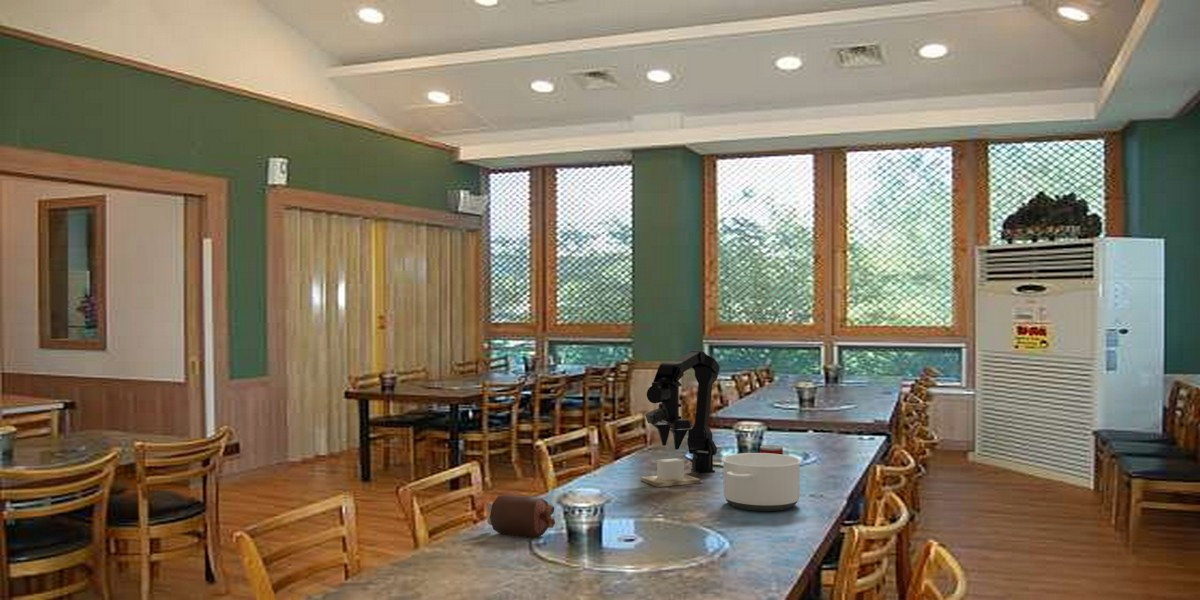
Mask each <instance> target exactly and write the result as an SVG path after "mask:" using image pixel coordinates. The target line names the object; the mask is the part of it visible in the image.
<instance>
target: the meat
mask: <svg viewBox="0 0 1200 600" xmlns="http://www.w3.org/2000/svg"><path fill="white" fill-rule="evenodd" d="M486 509H487V512H488V513H489V515H488V517H487V521H486V522H487V523H488V525H490V526H492V527H491V528H492V530H494V531H495V532H496V533H497V534H501V535H506V536H518V537H521V538H529V539H530V538H534V539H535V538H536V537H538V538H539V536H540V537H542V536H543V535H544V533H545V532H547V530H548V528H549V529H553V528H554V526H555V524H556V520H555V517H553V516H552V515H553V514H554V512H555V507H554V505H553V504H549V503H548V501H547V500H546V499H544V498H542V497H538V496H534V495H518V494H501V495H499V496H497V497H496V498H495V500H494V501H493V502H488V504H487V506H486ZM541 535H542V536H541Z"/></svg>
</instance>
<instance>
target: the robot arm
mask: <svg viewBox="0 0 1200 600" xmlns="http://www.w3.org/2000/svg"><path fill="white" fill-rule="evenodd" d="M691 368H692V370H693V371H694V377H695V380H696V381H697V384H698V385H697V397H696V408H695V417H694V424H693V426H692V422H691V421H690V420H689V419H686V418H682V416H681V415H680V409H679V408H681V407H682V404H681V403H679V402H680V397H679V396H680V393H679V392H680V389H679V387H682V383H681V382H680V381H679V380H681V379H682V378H683V376H684V375H685V372H687V371H688V370H689V369H691ZM719 372H720V364H719V362H717V360H716V359H715V358H714V357H712V356H709V355H708V354H706V352H705V351H703V350H695V349H692V350H690V351H689V352H688V353H686V354H684V355H683V356H681V357H679V358H677V359H676V360H673V361H666V362H661V364H659V366H658V368H657V370H656V374H655V376H654V379H653V382H651V386H649V387H648V389H647V391H646V398H647V400H648V402H650V403H652V404H658V408H655V409H653V410H650V411H649V412H646V413H645V414H644V415H645V418H646V421H647V424H651V425H652V426H653V427H655V429H657V432H658V434H659V435H658V436H659V439H660V441H661V445H662V446H663V447H664V446H666V445H667V444H668V439H669V435H670V432H671V434H672V435H673V444H674V450H679V449H680V447H681V445H682V443H683V440H684V438H685V436H686V435H687V440H686V441H687V442H686V443H687V448H688V452H689V453H688V454H690V455H691V454H692V458H691V469H690V470H691V472H695V473H697V474H705V473H707V474H708V473H715V472H716V470H715V469H713V468H714V459H713V458H714V456H716V455H717V453H718V447H717V445H716V444H715V441H714V440H713V432H712V430H711V428H710V426H709V425H710V416H711V415H710V414H711V401H712V392H713V386H714V384H715V382H716V381H717V380H718V376H719ZM687 433H688V434H687Z"/></svg>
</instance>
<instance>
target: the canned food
mask: <svg viewBox="0 0 1200 600" xmlns="http://www.w3.org/2000/svg"><path fill="white" fill-rule="evenodd" d="M759 453H772V454H782V455H784V449H783V446H782V445H777V444H776V445H774V444H765V445H764V444H763V445H760V446H759Z"/></svg>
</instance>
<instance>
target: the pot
mask: <svg viewBox="0 0 1200 600" xmlns="http://www.w3.org/2000/svg"><path fill="white" fill-rule="evenodd" d="M721 462H722V463H723V497H724V499H725V501H726V502H727V503H728V504H729V505H730V506H733V507H734V508H737V509H740V510H745V511H753V512H777V511H784V510H788V509H791V508H792V507H794V506H796V505H797V503H798V502H799V500H800V495H801V494H800V493H801V492H800V491H801V485H800V484H801V479H800V478H801V476H800V475H801V474H800V473H801V472H800V471H801V470H800V465H801V464H802V460H801V459H800V458H798V457H795V456H793V455H788V454H783V455H782V454H772V453H760V452H745V453H743V452H742V453H734V454H729V455H726V456H723V457H722V458H721Z"/></svg>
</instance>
